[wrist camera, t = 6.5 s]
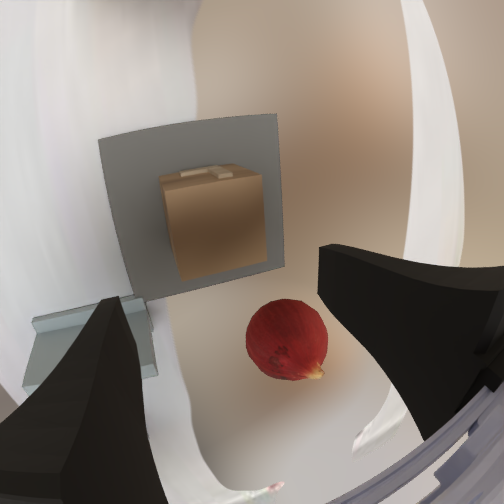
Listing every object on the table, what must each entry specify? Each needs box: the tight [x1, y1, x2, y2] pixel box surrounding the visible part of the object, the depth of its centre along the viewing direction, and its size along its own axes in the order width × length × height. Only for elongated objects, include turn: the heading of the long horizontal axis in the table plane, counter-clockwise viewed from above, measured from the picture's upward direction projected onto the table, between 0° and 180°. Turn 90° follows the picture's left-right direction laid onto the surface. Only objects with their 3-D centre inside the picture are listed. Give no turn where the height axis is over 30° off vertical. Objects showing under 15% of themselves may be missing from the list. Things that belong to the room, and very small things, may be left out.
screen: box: [22, 295, 158, 396], centre depth 16 cm, size 3×9×6 cm, turn 95°
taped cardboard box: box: [158, 163, 267, 282], centre depth 16 cm, size 5×5×5 cm
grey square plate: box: [98, 114, 284, 302], centre depth 18 cm, size 11×11×1 cm
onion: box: [246, 299, 328, 381], centre depth 20 cm, size 6×6×8 cm
